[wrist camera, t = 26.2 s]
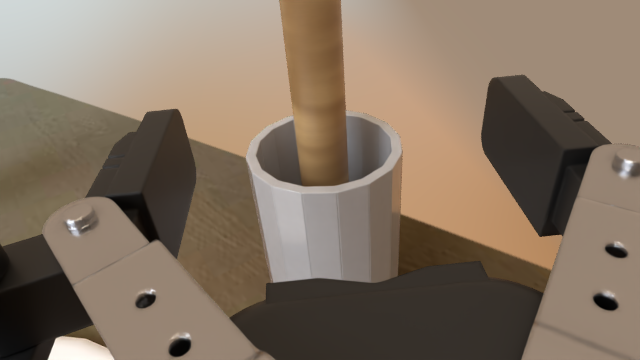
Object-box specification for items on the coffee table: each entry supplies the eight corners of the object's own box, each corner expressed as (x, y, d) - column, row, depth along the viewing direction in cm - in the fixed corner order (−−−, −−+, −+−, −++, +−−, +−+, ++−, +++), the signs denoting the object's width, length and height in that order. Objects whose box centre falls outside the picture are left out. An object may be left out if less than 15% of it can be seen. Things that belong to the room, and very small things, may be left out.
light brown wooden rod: (363, 276, 29) (353, -95, 17) (352, 314, 27) (332, -83, 15) (317, 268, 30) (278, -91, 18) (303, 305, 28) (247, -80, 16)
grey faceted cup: (366, 241, 32) (363, 98, 26) (418, 323, 27) (431, 166, 20) (264, 272, 31) (233, 128, 24) (296, 366, 25) (267, 211, 19)
